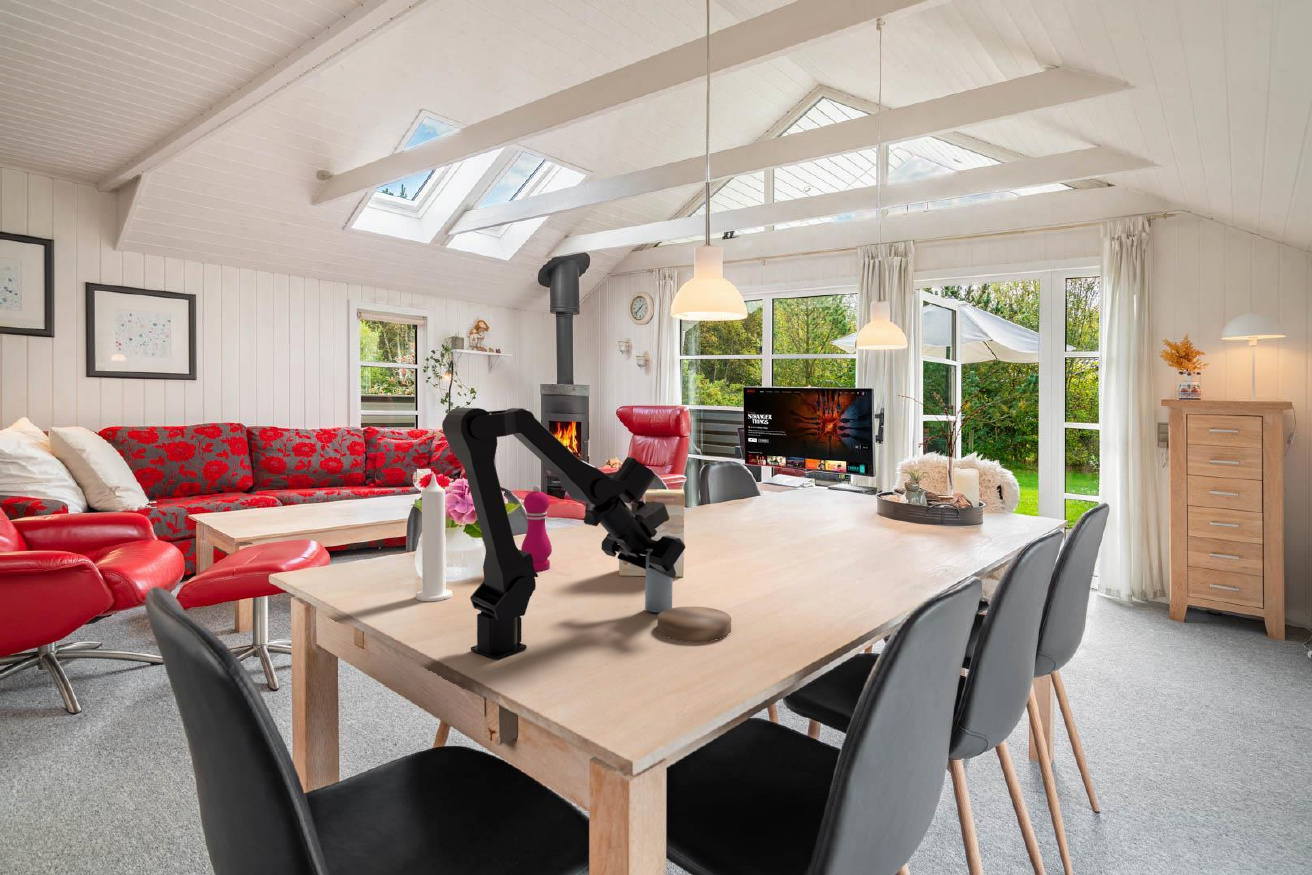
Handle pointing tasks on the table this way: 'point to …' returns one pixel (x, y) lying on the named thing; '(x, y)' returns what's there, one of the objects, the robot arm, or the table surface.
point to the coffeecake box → (662, 527)
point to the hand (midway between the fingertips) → (664, 573)
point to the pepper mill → (537, 529)
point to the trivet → (694, 623)
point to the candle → (433, 544)
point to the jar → (657, 590)
